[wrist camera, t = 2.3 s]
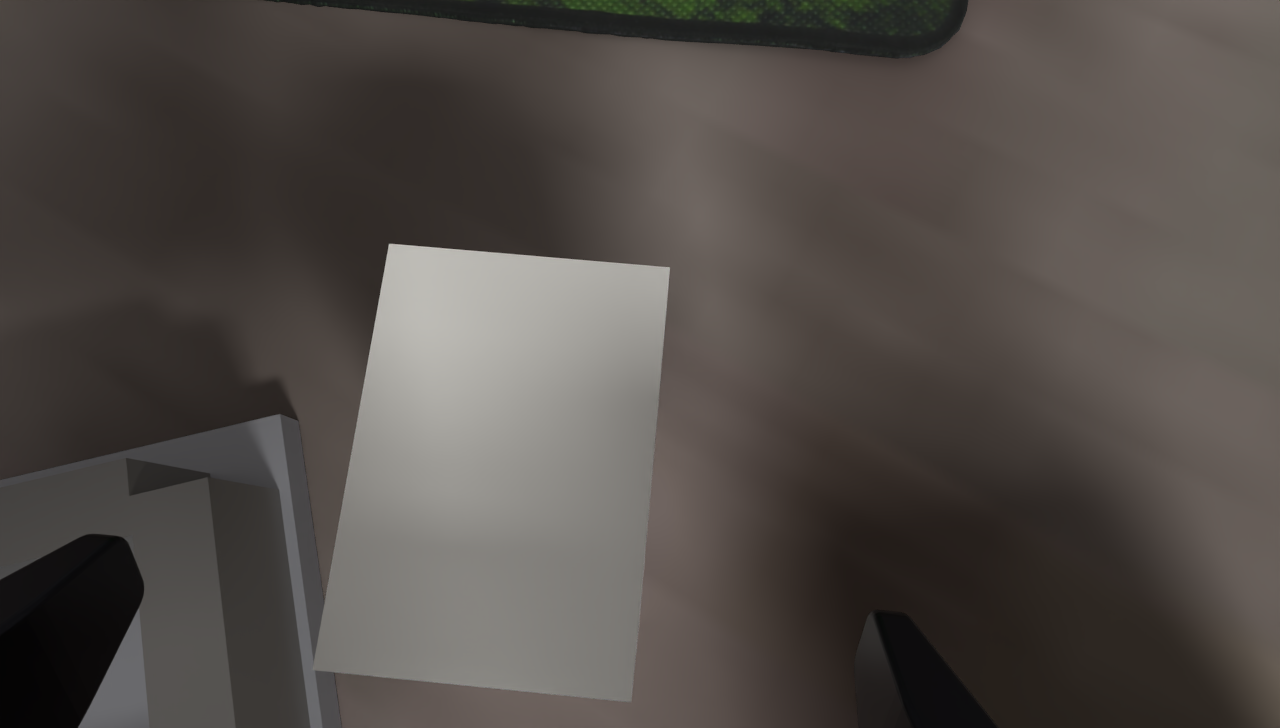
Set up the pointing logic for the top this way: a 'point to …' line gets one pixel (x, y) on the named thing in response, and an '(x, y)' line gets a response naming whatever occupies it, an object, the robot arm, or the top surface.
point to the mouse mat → (715, 20)
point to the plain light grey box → (500, 475)
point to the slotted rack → (196, 575)
